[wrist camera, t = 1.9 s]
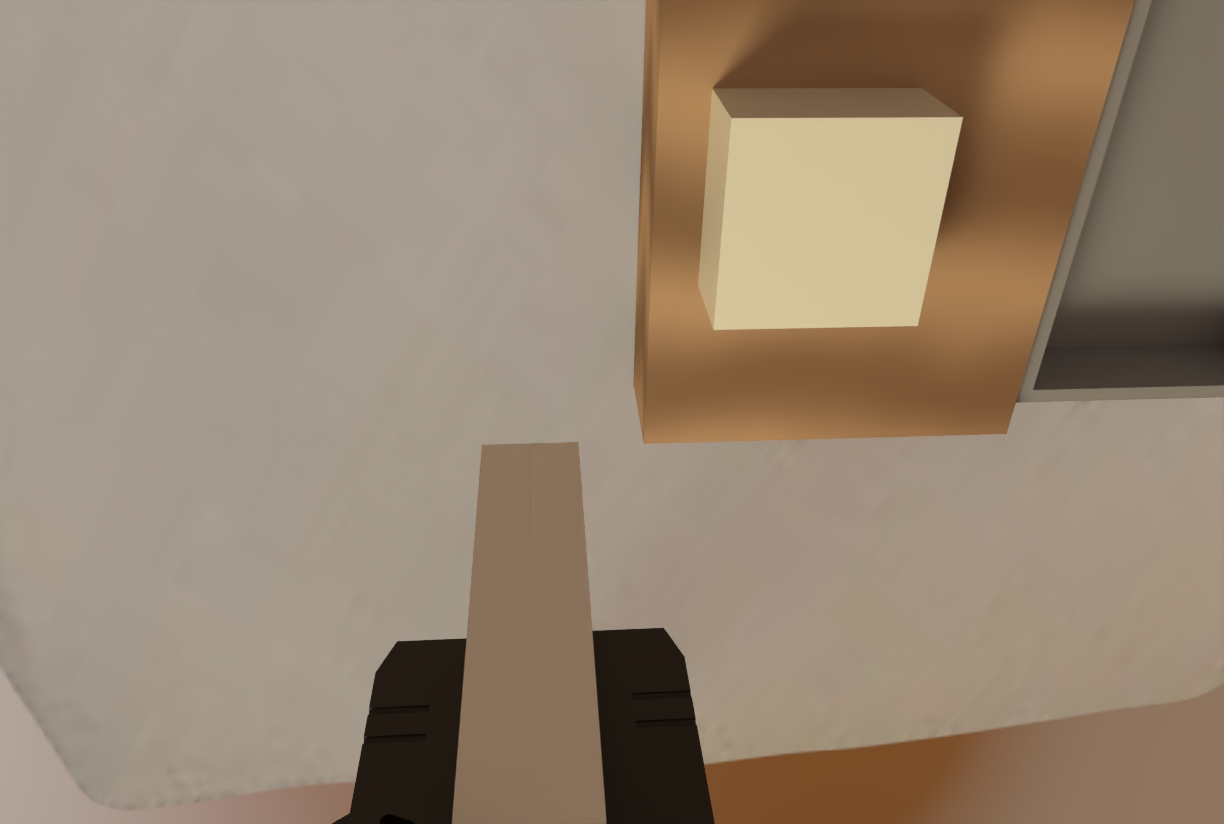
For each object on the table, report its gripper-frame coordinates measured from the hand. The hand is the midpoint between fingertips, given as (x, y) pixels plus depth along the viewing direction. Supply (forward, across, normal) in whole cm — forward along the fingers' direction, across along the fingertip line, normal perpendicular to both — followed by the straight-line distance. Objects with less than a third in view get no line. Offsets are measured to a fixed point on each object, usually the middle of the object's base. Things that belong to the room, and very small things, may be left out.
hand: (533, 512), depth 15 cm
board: (+19, +10, 0) cm, 21 cm away
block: (+15, +8, 0) cm, 17 cm away
